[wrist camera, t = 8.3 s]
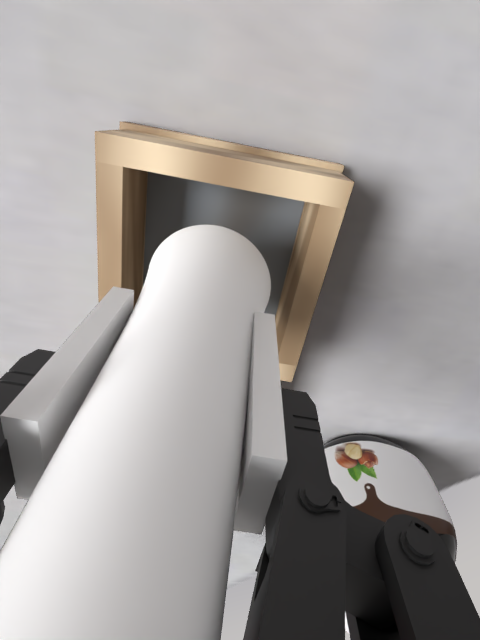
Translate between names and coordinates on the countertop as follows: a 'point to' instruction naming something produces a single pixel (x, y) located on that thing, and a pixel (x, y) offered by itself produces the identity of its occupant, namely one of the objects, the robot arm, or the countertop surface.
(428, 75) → the countertop surface
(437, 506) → the spread jar
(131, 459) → the cosmetic bottle
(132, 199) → the wooden frame
